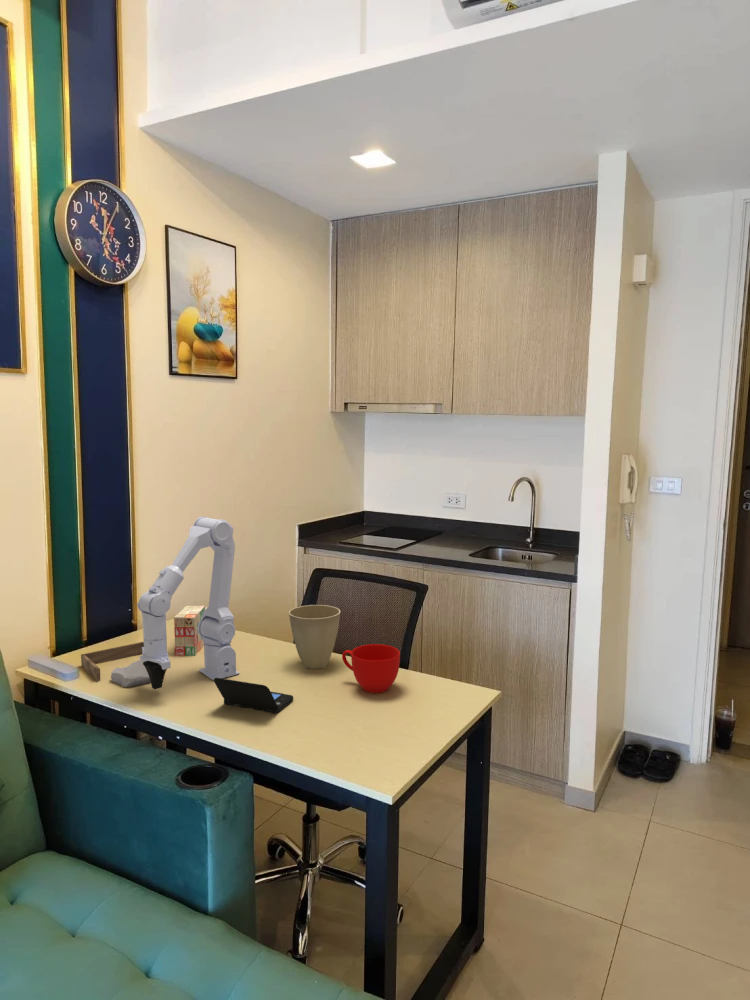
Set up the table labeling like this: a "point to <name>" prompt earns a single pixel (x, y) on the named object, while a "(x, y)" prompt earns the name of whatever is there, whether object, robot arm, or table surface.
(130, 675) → the stone block
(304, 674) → the table surface
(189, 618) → the stack of blocks
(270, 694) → the game console
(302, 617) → the plant pot
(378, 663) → the ceramic cup
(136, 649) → the box
